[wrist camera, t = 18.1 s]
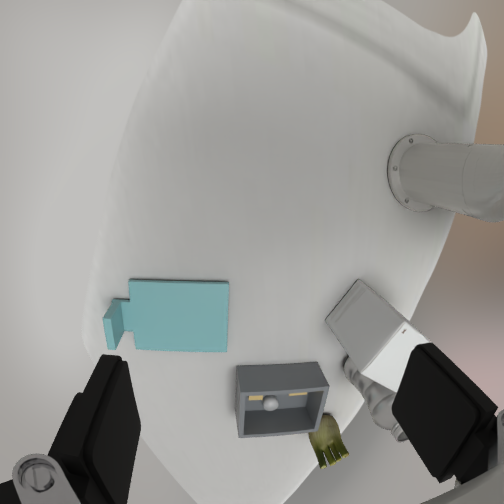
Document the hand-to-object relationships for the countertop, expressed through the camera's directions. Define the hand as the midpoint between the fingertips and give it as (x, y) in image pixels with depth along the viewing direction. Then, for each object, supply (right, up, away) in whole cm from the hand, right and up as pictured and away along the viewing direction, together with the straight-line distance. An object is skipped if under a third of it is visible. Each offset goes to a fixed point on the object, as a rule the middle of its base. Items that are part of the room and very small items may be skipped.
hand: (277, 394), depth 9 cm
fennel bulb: (+13, -30, +48) cm, 58 cm away
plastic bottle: (+18, -15, +45) cm, 51 cm away
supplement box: (+17, -6, +42) cm, 45 cm away
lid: (-13, -5, +38) cm, 41 cm away
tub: (+3, -20, +44) cm, 48 cm away
